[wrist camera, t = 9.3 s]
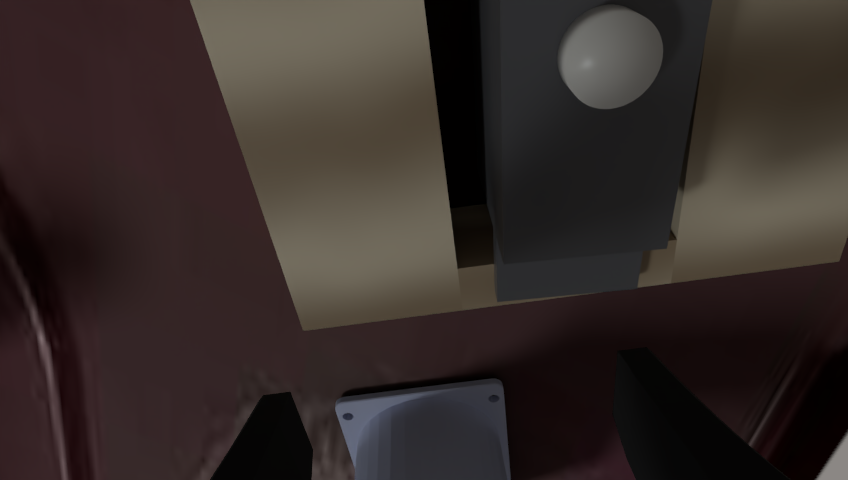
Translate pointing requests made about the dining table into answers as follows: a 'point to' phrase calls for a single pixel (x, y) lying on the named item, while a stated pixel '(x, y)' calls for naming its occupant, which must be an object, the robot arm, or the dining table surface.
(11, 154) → the dining table surface
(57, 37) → the dining table surface
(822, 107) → the tan slotted block
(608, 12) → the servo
